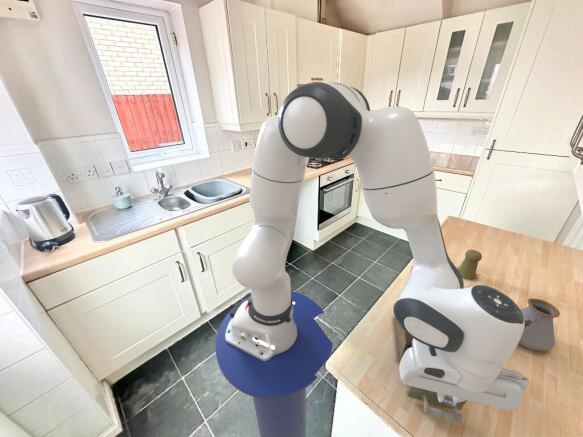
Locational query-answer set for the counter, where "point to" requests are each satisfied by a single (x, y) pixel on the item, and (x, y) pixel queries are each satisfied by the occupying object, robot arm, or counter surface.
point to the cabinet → (402, 340)
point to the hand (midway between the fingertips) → (445, 400)
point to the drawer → (433, 398)
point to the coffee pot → (538, 325)
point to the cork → (470, 264)
